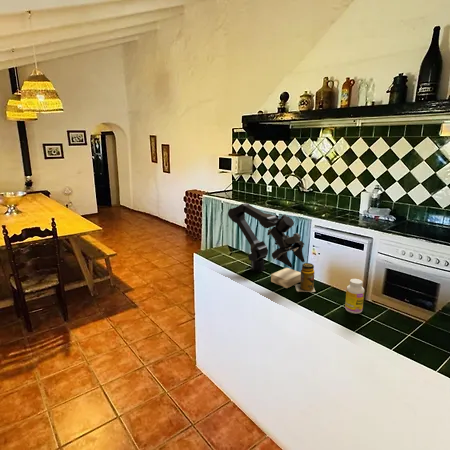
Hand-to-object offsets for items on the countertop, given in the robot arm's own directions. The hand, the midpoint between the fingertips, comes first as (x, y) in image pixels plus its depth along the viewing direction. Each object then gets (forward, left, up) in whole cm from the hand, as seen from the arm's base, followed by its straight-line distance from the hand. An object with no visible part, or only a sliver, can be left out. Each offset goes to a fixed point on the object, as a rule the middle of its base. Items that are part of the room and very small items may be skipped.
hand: (298, 264), depth 150 cm
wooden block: (-6, 0, -11) cm, 12 cm away
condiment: (+4, 0, -11) cm, 12 cm away
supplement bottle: (+30, -2, -11) cm, 32 cm away
